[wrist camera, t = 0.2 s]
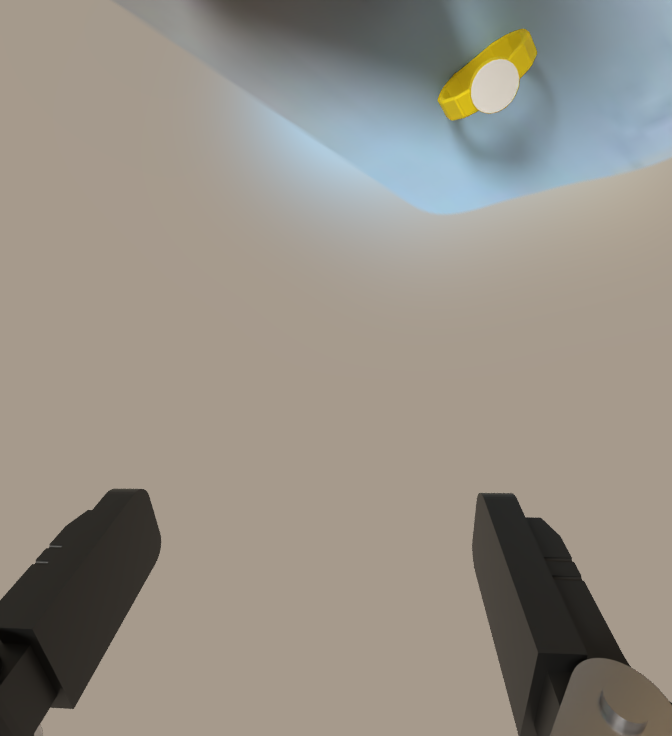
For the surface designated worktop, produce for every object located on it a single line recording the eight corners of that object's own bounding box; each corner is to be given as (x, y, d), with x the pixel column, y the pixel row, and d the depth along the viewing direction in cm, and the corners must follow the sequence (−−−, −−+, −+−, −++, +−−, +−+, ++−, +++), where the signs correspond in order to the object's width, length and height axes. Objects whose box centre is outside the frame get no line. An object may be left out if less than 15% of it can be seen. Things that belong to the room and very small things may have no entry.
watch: (448, 115, 31) (457, 143, 27) (429, 80, 30) (435, 104, 26) (530, 53, 28) (553, 74, 24) (512, 10, 27) (534, 25, 23)
